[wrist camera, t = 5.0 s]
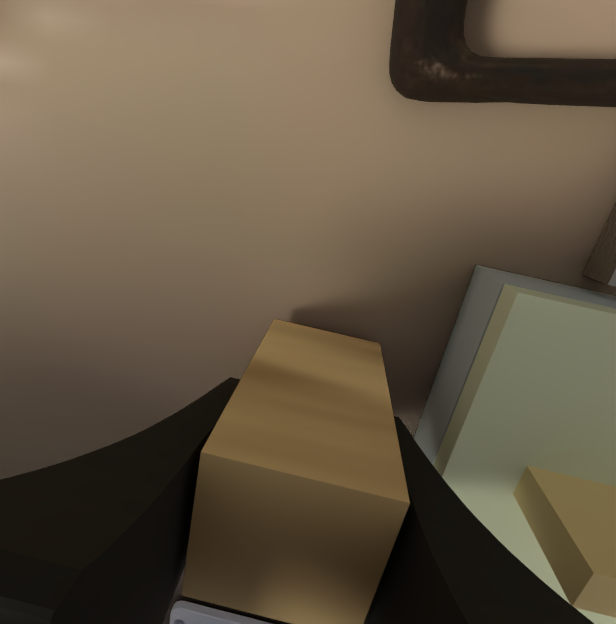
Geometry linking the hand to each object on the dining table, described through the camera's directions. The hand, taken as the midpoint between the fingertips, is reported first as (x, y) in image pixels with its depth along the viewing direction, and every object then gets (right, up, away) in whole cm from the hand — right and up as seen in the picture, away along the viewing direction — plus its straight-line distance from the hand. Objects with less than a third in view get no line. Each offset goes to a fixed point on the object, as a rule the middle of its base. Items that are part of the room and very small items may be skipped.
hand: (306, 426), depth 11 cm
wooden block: (0, +1, +2) cm, 2 cm away
